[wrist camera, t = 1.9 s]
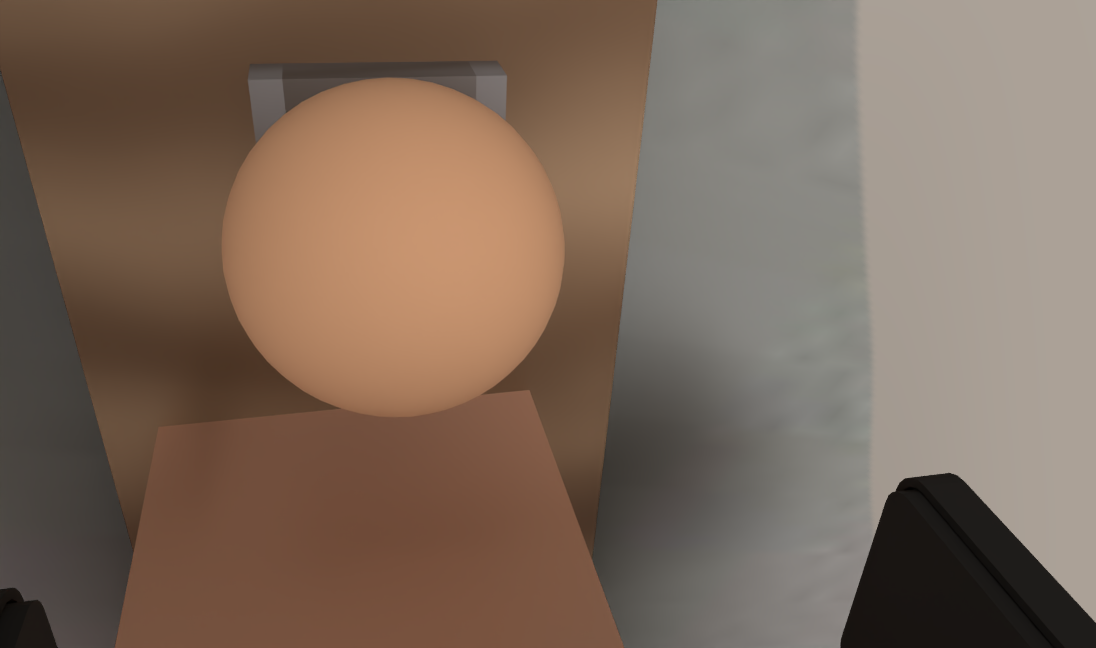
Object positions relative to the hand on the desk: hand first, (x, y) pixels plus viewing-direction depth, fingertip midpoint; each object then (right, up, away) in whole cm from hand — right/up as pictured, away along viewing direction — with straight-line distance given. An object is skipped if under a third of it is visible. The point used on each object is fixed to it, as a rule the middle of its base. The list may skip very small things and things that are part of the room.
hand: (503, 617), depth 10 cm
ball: (-3, +6, +8) cm, 11 cm away
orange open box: (-5, -2, +14) cm, 15 cm away
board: (-4, -2, +15) cm, 16 cm away
